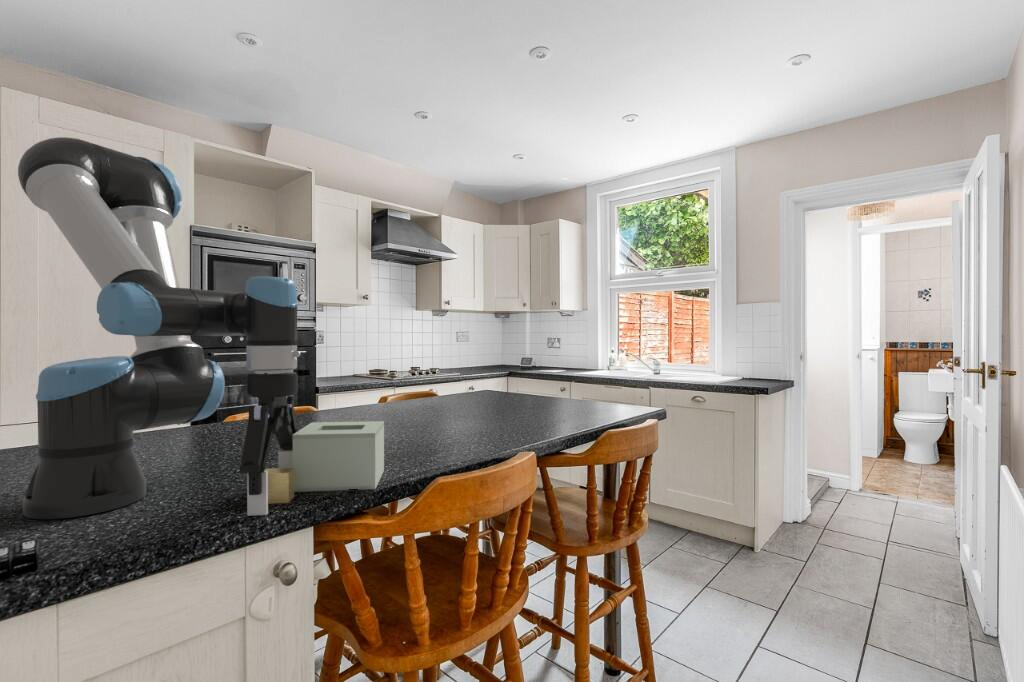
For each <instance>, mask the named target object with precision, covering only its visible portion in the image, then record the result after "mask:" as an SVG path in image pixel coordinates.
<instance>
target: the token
mask: <svg viewBox="0 0 1024 682" xmlns="http://www.w3.org/2000/svg"><path fill="white" fill-rule="evenodd" d="M265 471H268V505H269V504H289V503H290V502H291V501H292V500H293V499H294V498H295V492H294V468H278V467H277V468H275V467H273V468H265Z"/></svg>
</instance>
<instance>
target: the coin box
mask: <svg viewBox="0 0 1024 682" xmlns="http://www.w3.org/2000/svg"><path fill="white" fill-rule="evenodd" d="M384 443H385V421H384V420H383V421H382V420H381V421H380V420H377V421H375V420H371V421H326V422H325V421H322V422H318V421H315V422H313V421H312V422H310V423H309V424H307V425H306V426H304V427H302V428H301V429H298V432H296V433H295V434H293V468H294V493H303V492H333V491H334V492H335V491H350V490H349V489H358V490H357V491H362V490H363V491H364V490H376V488H377V486H378V484H379V481H380V480H381V478H382V476H383V474H384V471H385V450H384Z"/></svg>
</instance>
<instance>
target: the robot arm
mask: <svg viewBox="0 0 1024 682" xmlns="http://www.w3.org/2000/svg"><path fill="white" fill-rule="evenodd" d="M17 176H18V180H19V185H20V187H21V189H22V191H23V192H24V194H25V195H26V196H27V198H28V199H29V200H30V201H31V203H32V204H33V205H34V206H35V207H37V208H38V209H40V210H42V211H44V212H47V214H48V215H49V216H50V217H51V219H52V221H53V222H54V223H55V225H56V226H57V228H58V229H59V230H60V232H61V233H62V235H63V236H64V238H65V239H66V241H68V243H69V245H70V246H71V247H72V249H73V251H74V252H75V253H76V255H77V256H78V258H79V259H80V261H82V264H83V265H84V266H85V267H86V269H87V271H88V272H89V273H90V275H91V276H92V278H93V279H94V280H95V282H96V283H97V285H98V286H99V287H100V289H101V290H100V292H99V294H98V296H97V301H96V313H97V314H98V322H99V323H100V325H101V327H102V328H104V329H105V331H107V332H108V333H111V334H112V335H118V336H133V337H134V341H135V347H136V350H135V351H134V352H133V353H132V354H131V355H130V356H126V355H122V356H121V355H118V356H116V355H115V356H105V357H103V356H102V357H93V358H85V359H84V358H83V359H76V360H70V361H65V362H60V363H55V364H52V365H49V366H47V367H45V368H44V369H43V370H41V371H40V373H39V375H38V384H37V393H36V394H35V399H36V401H37V404H36V405H37V442H38V443H37V445H38V447H37V448H38V449H37V451H38V454H37V455H38V460H37V465H36V467H35V469H34V472H33V474H32V476H31V479H30V481H29V483H28V486H27V489H26V492H25V494H24V497H23V498H22V515H23V516H24V517H25V518H28V519H34V520H60V519H69V518H71V519H72V518H77V517H85V516H89V515H90V516H91V515H95V514H99V513H104V512H105V513H106V512H110V511H112V510H116V509H119V508H123V507H126V506H128V505H130V504H133V503H135V502H138V501H140V500H141V499H143V498H144V497H145V496H146V495H147V479H146V477H145V475H144V473H143V470H142V468H141V465H140V463H139V460H138V459H137V456H136V454H135V452H134V432H136V431H141V430H150V429H154V428H160V427H165V426H166V427H167V426H172V425H173V426H174V425H178V424H179V425H181V424H182V425H184V424H188V423H192V422H195V421H196V422H197V421H201V420H203V419H204V420H205V419H206V418H208V417H210V416H211V415H213V414H214V413H215V412H216V411H217V409H218V408H219V406H220V404H221V401H222V400H223V397H224V392H225V388H226V387H225V386H226V385H225V384H226V383H225V382H226V381H225V375H224V372H223V370H222V368H221V367H220V365H218V363H217V362H215V361H213V360H210V359H206V358H205V354H204V349H203V347H202V346H201V345H200V344H197V343H195V342H194V341H192V338H191V336H193V337H194V336H195V337H196V336H199V337H201V336H202V337H203V336H209V337H211V336H212V337H224V338H225V337H230V336H231V337H232V336H233V337H236V336H246V366H245V367H246V370H248V371H250V373H248V375H246V394H247V396H249V397H250V398H258V403H257V405H250V406H249V407H248V421H247V426H246V427H247V428H246V431H245V432H246V433H245V438H244V444H243V449H242V453H241V454H242V455H241V459H240V460H241V461H240V467H239V473H240V474H246V490H247V491H246V492H247V493H246V496H247V497H246V499H247V500H246V501H247V502H246V505H247V507H246V508H247V511H246V512H247V513H246V514H247V515H246V516H249V517H250V516H267V515H268V514H269V504H268V471H265V469H266V467H267V462H268V459H269V455H270V451H271V446H272V442H273V439H274V438H273V437H274V436H275V437H276V439H277V443H278V446H279V448H280V450H278V451H277V461H278V462H277V464H278V465H277V468H293V434H295V433H296V432H298V431H299V429H298V426H297V425H298V424H297V419H296V413H295V408H294V407H295V406H294V401H295V400H294V397H293V396H294V395H296V394H297V393H298V390H299V389H298V388H299V387H298V385H299V384H298V379H299V378H298V377H299V375H298V373H297V372H296V371H294V370H296V369H297V368H298V358H299V357H300V356H301V352H300V351H299V350H298V307H299V303H298V296H297V294H298V292H297V285H296V283H295V281H294V280H292V279H290V278H286V277H280V276H278V277H277V276H261V275H259V276H251V277H249V278H248V279H246V283H245V284H246V286H245V290H244V291H220V290H212V289H211V290H210V289H208V290H207V289H196V288H187V287H186V288H185V287H180V285H179V281H178V275H177V272H176V267H175V263H174V258H173V255H172V254H173V253H172V249H171V245H170V241H169V236H168V232H167V230H168V229H169V228H170V227H171V226H172V225H173V223H174V220H175V218H177V216H178V215H179V212H180V211H181V208H182V206H181V204H180V202H182V191H181V186H180V183H179V180H178V179H177V178H176V176H175V174H174V173H173V172H172V171H171V170H170V169H169V168H168V167H166V166H164V165H163V164H160V163H158V162H154V161H153V160H150V159H149V158H147V157H142V156H135V155H132V154H128V153H125V152H122V151H118V150H115V149H113V148H108V147H105V146H102V145H100V144H95V143H92V142H89V141H86V140H83V139H80V138H76V137H75V138H74V137H66V136H64V137H59V136H58V137H52V138H47V139H44V140H41V141H39V142H36V143H34V144H33V145H32V146H31V147H29V148H28V149H26V151H25V152H24V153H23V155H22V156H21V158H20V160H19V163H18V167H17Z"/></svg>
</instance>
